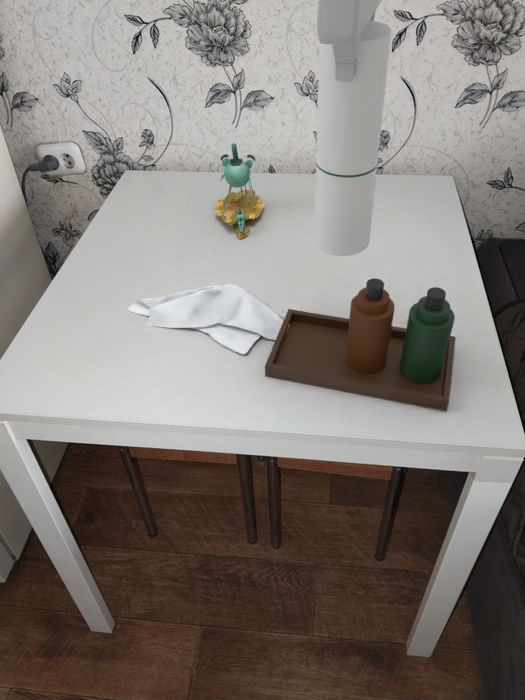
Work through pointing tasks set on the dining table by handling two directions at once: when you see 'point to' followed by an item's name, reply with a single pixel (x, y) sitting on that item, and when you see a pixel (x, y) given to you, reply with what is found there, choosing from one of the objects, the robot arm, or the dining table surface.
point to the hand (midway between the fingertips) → (353, 64)
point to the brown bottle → (369, 328)
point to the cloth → (214, 315)
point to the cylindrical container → (349, 143)
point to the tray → (333, 371)
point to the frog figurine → (238, 194)
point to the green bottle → (427, 337)
